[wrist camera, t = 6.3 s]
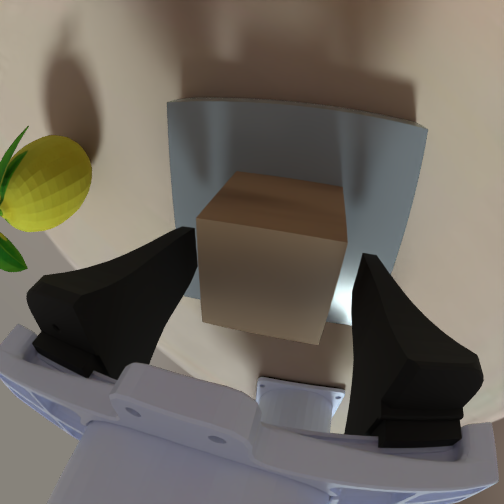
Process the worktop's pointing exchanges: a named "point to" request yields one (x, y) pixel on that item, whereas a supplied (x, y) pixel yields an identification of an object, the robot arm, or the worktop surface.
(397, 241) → the slate tile
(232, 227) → the walnut block
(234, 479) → the robot arm
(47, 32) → the worktop surface
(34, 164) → the lemon
